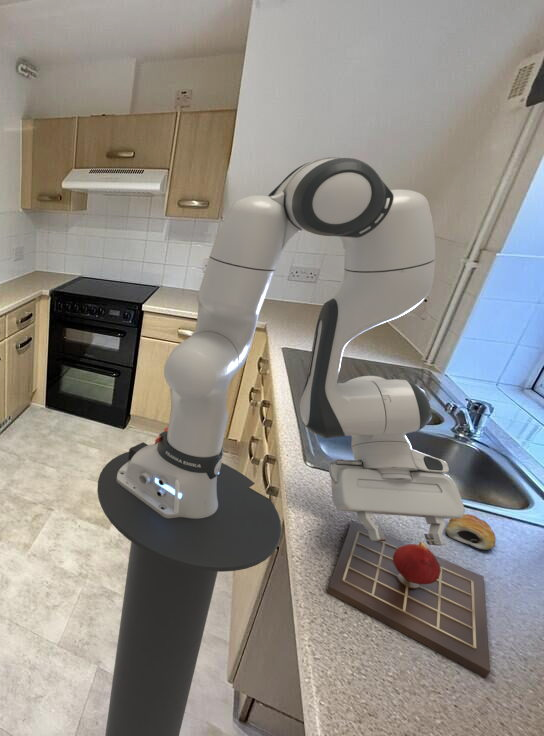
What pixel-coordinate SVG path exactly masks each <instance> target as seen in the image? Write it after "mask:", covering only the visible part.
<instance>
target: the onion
mask: <svg viewBox="0 0 544 736" xmlns="http://www.w3.org/2000/svg"><path fill="white" fill-rule="evenodd" d="M407 544H408V545H404V546H401V547H399V548H398V549H397V550H396V552H395V553H394V556H393V561H394V565H395V567H396V569H397V570H398V572H399V573H400V574H401V575H402V576H403V577H404V578H405V579H406V580H407V581H409V582H412V583H416V584H431V583H434V582H435V581H436V580H437V579H438V577H439V576H440V572H441V568H440V565H439V562H438V561H437V559H436V558H435V556H436V555H435V554H434V553H433V552H432V551H431V550H430V549H429V548H428V547H427V545H426V543H424V542H422V541H420V542H419V543H418V544H414V543H410V544H409V543H407ZM434 555H435V556H434Z"/></svg>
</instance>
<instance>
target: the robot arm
mask: <svg viewBox="0 0 544 736" xmlns="http://www.w3.org/2000/svg"><path fill="white" fill-rule="evenodd" d="M301 231H304V232H307V233H311V234H313V235H318V236H323V237H338V238H340V240H341V243H342V247H343V249H344V253H343V255H344V256H343V278H342V281H341V283H340V285H339V288H338V290H337V291H336V293H335V295H334V296H333V297H332V298H330V299H329V300H327V301H326V302H324V303H323V305H322V307H321V309H320V312H319V315H318V317H317V322H316V327H315V331H314V337H313V342H312V347H311V354H310V360H309V363H308V370H307V376H306V381H305V384H304V386H303V387H304V388H303V391H302V394H301V398H300V403H299V412H300V413H299V414H300V417H301V421H302V424H303V426H304V427H306V428H307V429H308V430H309V431H311V432H312V433H314V434H315V435H317V436H319V437H321V438H323V439H333V438H334V439H335V438H342V437H346V436H351V443H350V444H351V445H350V446H351V447H350V448H351V450H352V454H353V459H342V458H336V459H334V461H331V462H330V463H329V465H328V473H329V477H330V480H331V482H330V484H331V485H330V487H331V496H332V503H333V505H334V507H336V509H337V510H338V511H339V512H347V513H348V512H349V513H356V515H357V519H358V520H359V522H360V524H362V525H364V526H365V528H366V529H368V532H369V536H370V539H371V540H373V541H385V540H386V538H385V536H384V534H385V531H384V529H379V527H378V526H377V524H376V523H375V522H374V521H373V520H374V519H375V515H376V514H377V515H390V516H404V517H417V518H424V519H425V522H426V524H427V525H429V530H428V533H424V534H423V535H424V539H425V542H426V544H427V545H429V546H436V547H437V546H439V547H440V546H441V547H442V546H444V545H445V542H444V538H443V533H444V529H445V527H446V522H445V520H450V519H455V518H462V517H463V515H464V514H465V513H466V512H465V505H464V502H463V500H462V497H461V494H460V491H459V489H458V486H457V484H456V483H455V481H454V480H453V479H452V477H450V476H449V475H448V474H446V473H448V472H449V471H450V469H449V465H448V463H447V461H445V460H444V459H441V458H437V457H435V456H431V455H429V454H427V453H423V452H420V451H418V450H416V449H413V447H412V444H411V442H410V440H409V439H408V437H407V434H411V433H417V432H420V431H421V430H422V429H424V428H425V426H426V425H428V424H429V423H430V421H431V420H432V419H433V412H432V408H431V404H430V401H429V398H428V395H427V393H426V391H425V390H424V389H422V388H421V387H420V386H419V385H417V384H416V383H414V382H412V381H410V380H408V379H397V378H395V379H385V378H384V377H383V376H382V377H381V376H377V375H361V376H357V377H354V378H351V379H349V380H347V381H345V382H339V383H338V379H339V374H340V369H341V365H342V358H343V356H344V355H343V354H344V350H345V348H346V346H347V345H348V344H349V342H350V341H352V340H353V339H355V338H356V337H357V336H359V335H361V334H363V333H364V332H366V331H369V330H370V329H373V328H375V327H377V326H379V325H382V324H385V323H387V322H390V321H393V320H396V319H398V318H400V317H402V316H404V315H405V314H408V313H409V312H411V311H413V310H414V309H416V308H417V307H418V306H419V305H420V304H422V302H423V301H425V299H426V298H427V297H428V296H429V294H430V292H431V290H432V287H433V283H434V280H435V270H436V239H435V238H436V236H435V228H434V220H433V216H432V211H431V207H430V203H429V200H428V199H427V198H426V196H424V194H422V193H420V192H418V191H415V190H411V189H401V188H400V189H390V188H389V187H388V186H387V184H386V183H385V182H384V181H383V179H382V178H381V176H380V175H379V174H378V173H377V171H376V170H375V169H374V167H372V166H370V164H368V163H366V162H364V161H363V160H360V159H357V158H351V157H338V156H337V157H336V156H328V157H322V158H319V159H315V160H313V161H309V162H306V163H304V164H302V165H300V166H299V167H297V168H295V169H294V170H292V171H291V172H290V173H289V174H288V175H287V176H286V177H285V178H284V179H283V180H282V181H281V182H280V183H279V184H278V185H277V186H276V187H275V188H274V189H273V190H272V191H271V192H270V193H269V194H267V195H261V194H260V195H259V194H257V195H250V196H245V197H242V198H240V199H238V200H237V201H235V202H234V203H233V204H232V205H231V207H230V208H229V210H228V211H227V213H226V215H225V217H224V219H223V221H222V223H221V225H220V227H219V230H218V232H217V234H216V236H215V239H214V242H213V245H212V248H211V251H210V253H209V257H208V259H207V262H206V266H205V270H204V272H203V276H202V278H201V279H202V280H201V282H200V286H199V289H198V293H197V297H196V299H197V304H198V307H197V319H196V324H195V328H194V330H193V332H192V333H191V335H190V336H189V337H188V338H186V339H185V340H183V341H181V342H180V343H179V344H177V345H176V346H175V347H174V348H173V350H172V351H171V353H169V355H168V357H167V359H166V361H165V363H164V367H163V376H164V379H165V382H166V384H167V386H168V387H169V393H170V413H169V419H168V420H169V421H168V426H167V427H165V428H164V429H163V430H164V431H162V432H161V433H159V434H158V436H157V437H156V438H155V440H154V443H152V444H147V443H146V442H140V443H138V444H136V445H133V446H132V447H129V450H128V452H129V457H128V459H129V460H130V461H129V462H127V463H126V464H124V465H123V466H122V467H121V468H120V470H119V471H118V474H117V478H116V481H117V483H119V484H120V485H121V486H123V487H124V488H125V489H127V490H128V491H129V492H131V493H132V494H133V495H135V496H136V497H137V498H139V499H140V500H141V501H143V502H144V503H145V504H147V505H148V506H149V507H151V508H152V509H153V510H155V511H156V512H157V513H159V514H160V515H161V516H163V517H165V518H177V517H184V518H193V519H198V518H205V517H208V516H211V515H212V514H214V513H215V512H216V510H217V508H218V500H217V475H218V474H219V471H220V468H221V463H223V456H224V446H223V444H224V439H225V434H226V430H227V425H228V420H229V413H228V412H227V411H228V409H227V399H228V397H227V396H228V391H229V386H230V385H231V384H230V383H231V381H232V379H233V378H234V376H235V375H236V374H237V373H238V372H239V371H241V369H242V368H243V367H244V365H245V363H246V361H247V359H248V355H249V352H250V349H251V346H252V343H253V340H254V336H255V332H256V329H257V324H258V319H259V316H260V312H261V310H262V307H263V305H264V301H265V299H266V296H267V294H268V291H269V288H270V286H271V283H272V280H273V278H274V275H275V273H276V269H277V268H278V264H279V260H280V258H281V255H282V252H283V251H284V249H285V248H286V246H287V244H288V243H289V242H290V241H291V239H292V238H293V237H294V236H295V235H297V234H298V233H300V232H301ZM374 514H375V515H374Z"/></svg>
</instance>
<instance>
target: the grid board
mask: <svg viewBox="0 0 544 736" xmlns="http://www.w3.org/2000/svg"><path fill="white" fill-rule="evenodd" d="M384 536H385V538H386V540H385V541H373V540H371V539H370V536H369V532H368V529H366V528H365V526H364V525H363V524H362V523H361V522H357V521H356V520H353V519H352V520H351V522H350V524H349V527H348V529H347V533H346V535H345V538H344V542H343V545H342V547H341V551H340V553H339V556H338V559H337V562H336V565H335V567H334V570H333V574H332V576H331V580H330V583H329V585H328V588H327V590H326V592H327V594H329V595H331V596H333V597H334V598H337V599H338V600H340V601H342V602H344V603H346V604H349V605H350V606H351V607H353V608H355V609H357V610H359V611H360V612H363V613H364V614H366V615H368V616H370V617H372V618H374V619H376V620H377V621H379V622H381V623H382V624H384V625H387V626H389V627H390V628H392V629H394V630H396V631H398V632H399V633H402V634H403V635H405V636H407V637H409V638H410V639H413V640H415V641H417V642H418V643H420V644H422V645H424V646H425V647H427V648H429V649H431V650H433V651H435V652H437V653H438V654H441V655H442V656H444V657H446V658H448V659H449V660H452V661H453V662H455V663H457V664H459V665H461V666H463V667H465V668H466V669H468V670H470V671H472V672H473V673H475V674H478V675H479V676H481V677H482V678H485V679H487V678H488V675H489V674H490V673H491V664H490V647H489V634H488V620H487V605H486V590H485V577H484V575H481V574H479V573H477V572H474V571H472V570H470V569H468V568H465V567H463V566H461V565H458V564H456V563H453V562H451V561H448V560H447V559H445V558H442V557H439V556H437V555H435V554H434V556H435V558H436V559H437V561H438V562H439V565H440V568H441V572H440V576H439V577H438V579H437V580H436V581H435V582H434V583H431V584H416V583H412V582H409V581H407V580H406V579H405V578H404V577H403V576H402V575H401V574H400V573H399V572H398V570H397V569H396V567H395V565H394V561H393V556H394V553H395V552H396V550H397V549H398V548H399V547H401V546H404V545H408V544H409V543H406V542H404V541H402V540H399V539H398V538H396V537H392V536H390V535H388V534H386V533H384Z"/></svg>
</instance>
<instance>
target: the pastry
mask: <svg viewBox="0 0 544 736" xmlns="http://www.w3.org/2000/svg"><path fill="white" fill-rule="evenodd" d="M445 532H446V534H447V536H448V537H449V538H451V539H453V540H456V541H458V542H460V543H462V544H466V545H469V546H471V547H474V548H476V549H479V550H486V551H487V550H490V549H493V548H495V546H496V540H497V538H496V534H495V532H494V530H492V528H491V526H490V525H489V524H488V522H487V521H485V520H483V519H481V518H479V517H478V516H475V515H474V514H469V513H464V515H463V517H462V518H455V519H448V523H447V526H446V528H445Z"/></svg>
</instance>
